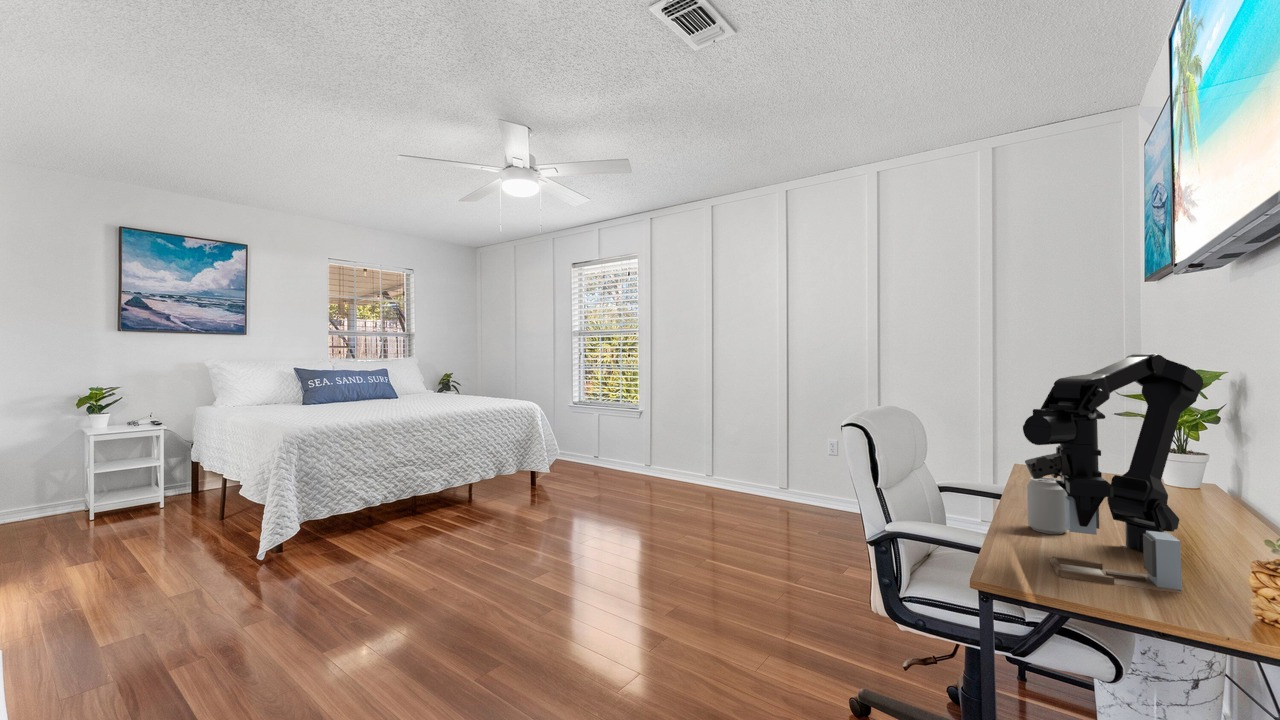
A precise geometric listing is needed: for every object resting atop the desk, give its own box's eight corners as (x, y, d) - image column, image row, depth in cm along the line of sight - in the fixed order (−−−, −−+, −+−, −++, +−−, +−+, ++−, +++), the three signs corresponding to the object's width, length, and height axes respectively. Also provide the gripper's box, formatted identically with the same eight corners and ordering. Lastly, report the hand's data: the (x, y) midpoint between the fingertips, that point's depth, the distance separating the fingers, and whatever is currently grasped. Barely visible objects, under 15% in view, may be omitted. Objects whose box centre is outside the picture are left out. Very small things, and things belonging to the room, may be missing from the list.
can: (1029, 523, 131) (1027, 474, 131) (1068, 529, 126) (1067, 477, 127) (1026, 531, 125) (1025, 479, 125) (1068, 537, 121) (1066, 483, 121)
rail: (1050, 569, 102) (1049, 556, 102) (1163, 584, 95) (1162, 570, 95) (1058, 584, 95) (1058, 570, 95) (1181, 602, 88) (1181, 586, 88)
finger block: (1065, 526, 107) (1064, 496, 108) (1094, 529, 105) (1093, 498, 105) (1069, 531, 104) (1069, 500, 104) (1099, 535, 102) (1099, 503, 102)
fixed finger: (1143, 576, 95) (1142, 530, 95) (1170, 579, 93) (1168, 532, 93) (1153, 586, 90) (1152, 538, 90) (1181, 590, 89) (1180, 541, 89)
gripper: (1021, 435, 117) (1023, 507, 117) (1035, 446, 101) (1037, 531, 100) (1086, 437, 112) (1088, 513, 111) (1113, 450, 95) (1115, 539, 95)
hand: (1080, 523), depth 105 cm, fingers closed on finger block, 4 cm apart
